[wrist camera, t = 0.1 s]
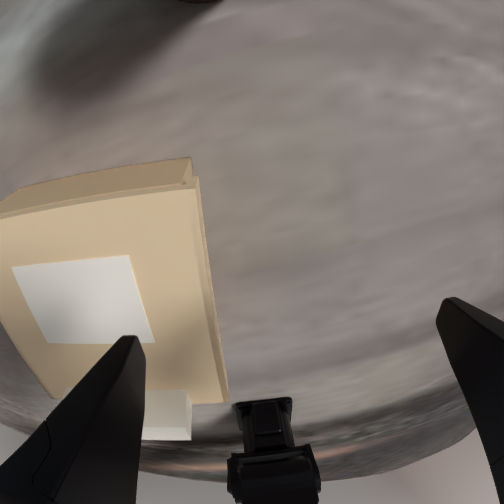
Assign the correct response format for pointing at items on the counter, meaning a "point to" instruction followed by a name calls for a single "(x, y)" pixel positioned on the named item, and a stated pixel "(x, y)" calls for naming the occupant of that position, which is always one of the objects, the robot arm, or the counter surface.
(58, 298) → the lid
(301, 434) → the counter surface
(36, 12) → the counter surface
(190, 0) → the coffee mug
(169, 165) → the mailer box
